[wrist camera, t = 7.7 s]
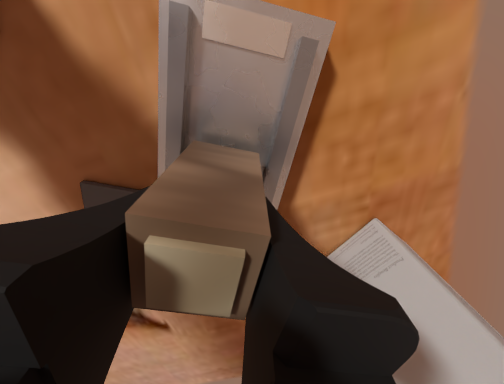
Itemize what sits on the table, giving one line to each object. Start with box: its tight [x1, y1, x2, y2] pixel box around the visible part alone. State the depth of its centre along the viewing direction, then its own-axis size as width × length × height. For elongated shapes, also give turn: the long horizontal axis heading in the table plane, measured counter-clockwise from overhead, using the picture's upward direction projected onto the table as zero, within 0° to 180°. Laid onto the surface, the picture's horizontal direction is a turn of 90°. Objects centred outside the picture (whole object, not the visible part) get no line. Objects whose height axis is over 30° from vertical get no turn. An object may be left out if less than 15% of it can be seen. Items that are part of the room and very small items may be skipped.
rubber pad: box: [80, 181, 139, 209], centre depth 17 cm, size 7×8×1 cm
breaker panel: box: [158, 0, 336, 210], centre depth 14 cm, size 8×18×3 cm, turn 168°
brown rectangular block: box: [125, 140, 271, 320], centre depth 9 cm, size 4×4×7 cm
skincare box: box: [327, 218, 504, 384], centre depth 13 cm, size 6×4×12 cm
